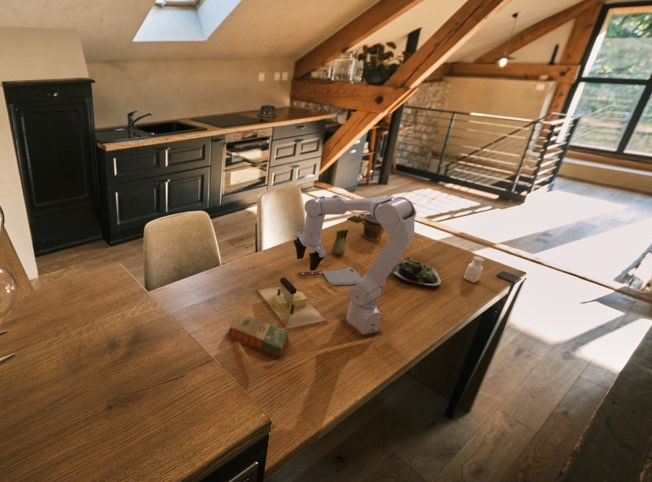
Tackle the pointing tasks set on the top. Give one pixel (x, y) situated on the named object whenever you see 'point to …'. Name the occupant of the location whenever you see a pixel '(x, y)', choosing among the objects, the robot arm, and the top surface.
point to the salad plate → (416, 273)
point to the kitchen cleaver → (338, 276)
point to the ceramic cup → (371, 227)
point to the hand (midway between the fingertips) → (306, 264)
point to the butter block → (297, 300)
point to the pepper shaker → (474, 269)
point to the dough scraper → (287, 289)
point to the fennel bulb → (340, 242)
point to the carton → (258, 334)
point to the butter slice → (279, 303)
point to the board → (292, 310)
